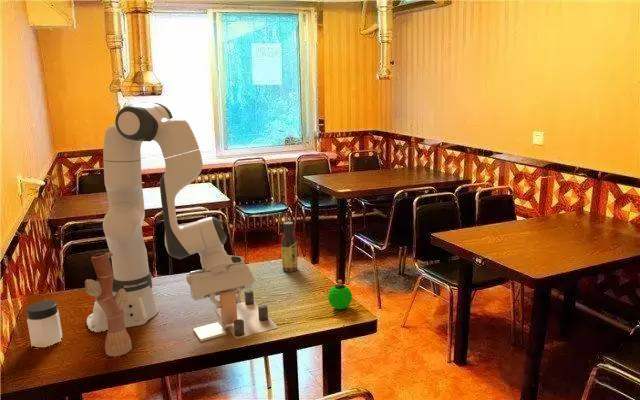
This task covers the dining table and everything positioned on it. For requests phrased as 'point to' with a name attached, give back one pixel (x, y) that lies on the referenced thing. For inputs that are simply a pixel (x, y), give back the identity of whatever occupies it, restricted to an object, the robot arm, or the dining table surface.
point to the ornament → (340, 296)
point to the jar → (44, 323)
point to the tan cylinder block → (228, 307)
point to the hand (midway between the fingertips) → (229, 305)
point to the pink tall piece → (110, 305)
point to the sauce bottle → (289, 248)
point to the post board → (249, 318)
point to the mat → (209, 331)
